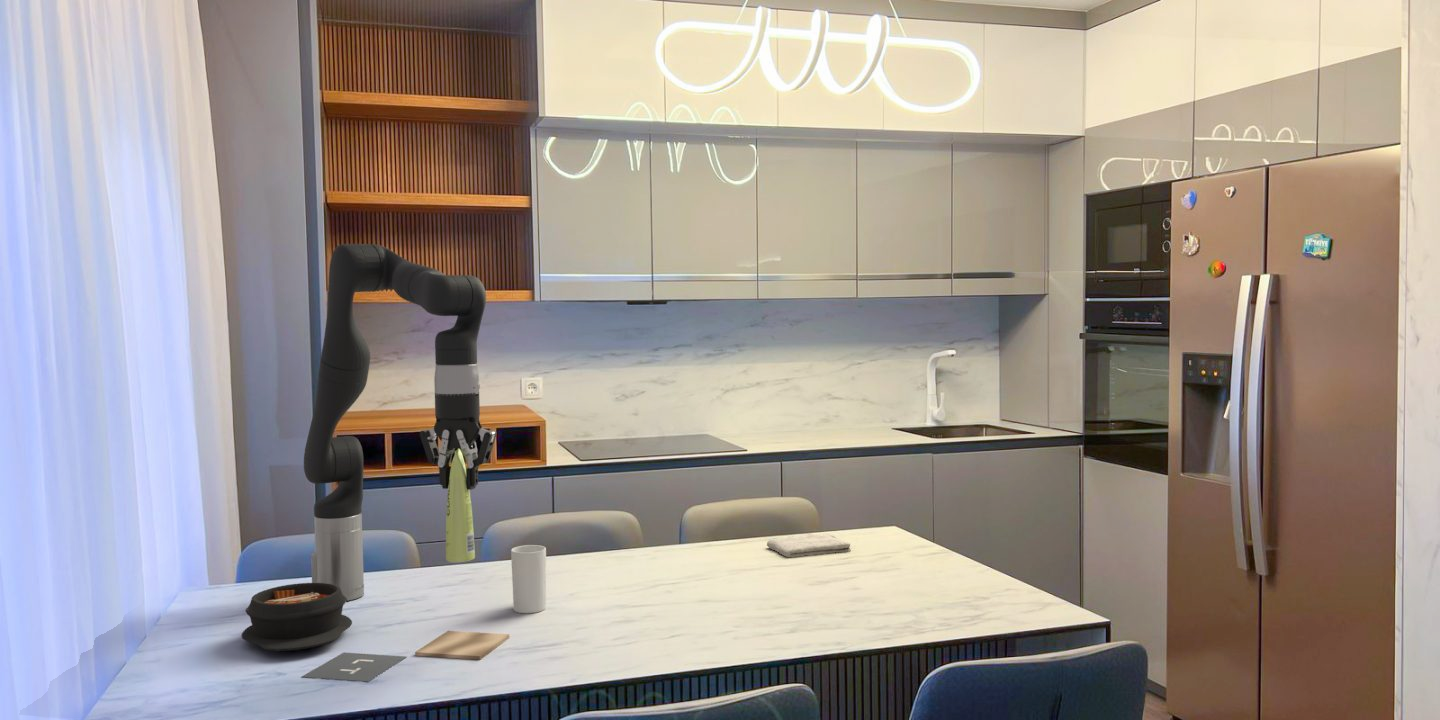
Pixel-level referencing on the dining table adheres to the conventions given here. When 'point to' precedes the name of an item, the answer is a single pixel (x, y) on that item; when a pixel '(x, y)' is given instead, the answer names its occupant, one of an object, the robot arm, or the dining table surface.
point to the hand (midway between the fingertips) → (459, 487)
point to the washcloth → (808, 545)
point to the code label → (355, 667)
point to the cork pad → (462, 645)
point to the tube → (459, 514)
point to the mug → (529, 578)
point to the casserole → (296, 616)
